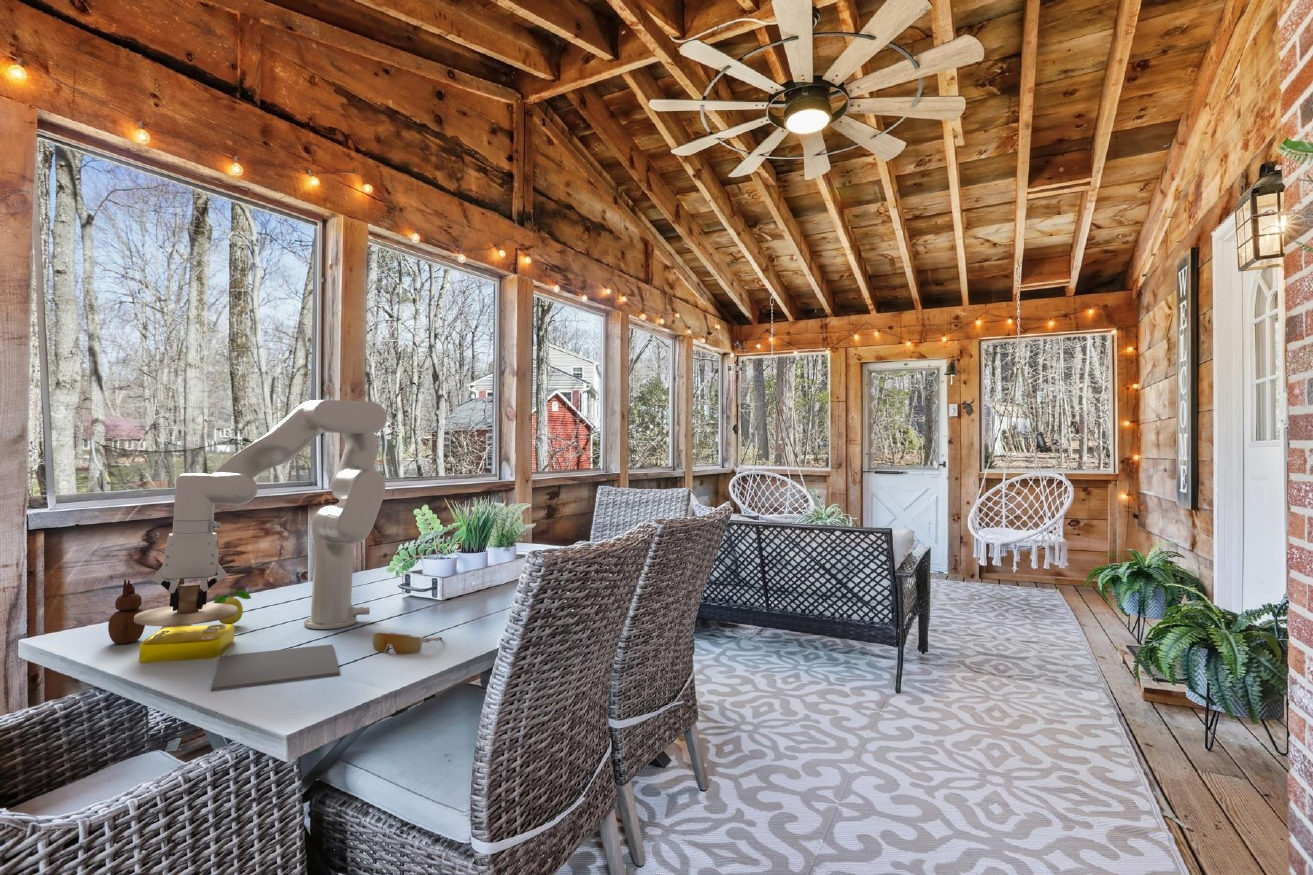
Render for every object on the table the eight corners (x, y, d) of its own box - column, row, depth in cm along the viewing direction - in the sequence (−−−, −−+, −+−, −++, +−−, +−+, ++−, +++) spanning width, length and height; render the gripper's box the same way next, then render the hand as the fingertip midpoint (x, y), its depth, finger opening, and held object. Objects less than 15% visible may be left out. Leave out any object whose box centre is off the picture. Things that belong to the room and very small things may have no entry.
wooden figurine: (121, 647, 149) (125, 581, 149) (101, 644, 150) (105, 579, 151) (150, 639, 155) (153, 576, 156) (130, 637, 157) (134, 574, 157)
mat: (332, 646, 154) (332, 644, 154) (339, 674, 135) (339, 671, 135) (220, 658, 143) (220, 655, 143) (211, 690, 124) (211, 687, 124)
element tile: (161, 645, 152) (162, 625, 152) (235, 641, 157) (236, 621, 157) (135, 665, 138) (136, 642, 138) (217, 660, 143) (218, 638, 143)
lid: (239, 603, 160) (241, 576, 160) (235, 621, 144) (237, 590, 144) (141, 610, 151) (144, 580, 151) (125, 629, 134) (128, 596, 134)
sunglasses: (360, 653, 150) (363, 630, 151) (397, 645, 165) (399, 624, 166) (416, 658, 148) (418, 635, 148) (448, 649, 162) (450, 629, 163)
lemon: (250, 624, 172) (252, 585, 172) (235, 629, 166) (237, 590, 166) (225, 623, 172) (227, 584, 172) (209, 628, 166) (211, 589, 166)
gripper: (237, 525, 155) (233, 602, 155) (150, 526, 147) (144, 608, 146) (235, 528, 149) (230, 609, 148) (144, 530, 141) (138, 615, 140)
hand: (188, 608), depth 147 cm, fingers closed on lid, 4 cm apart
